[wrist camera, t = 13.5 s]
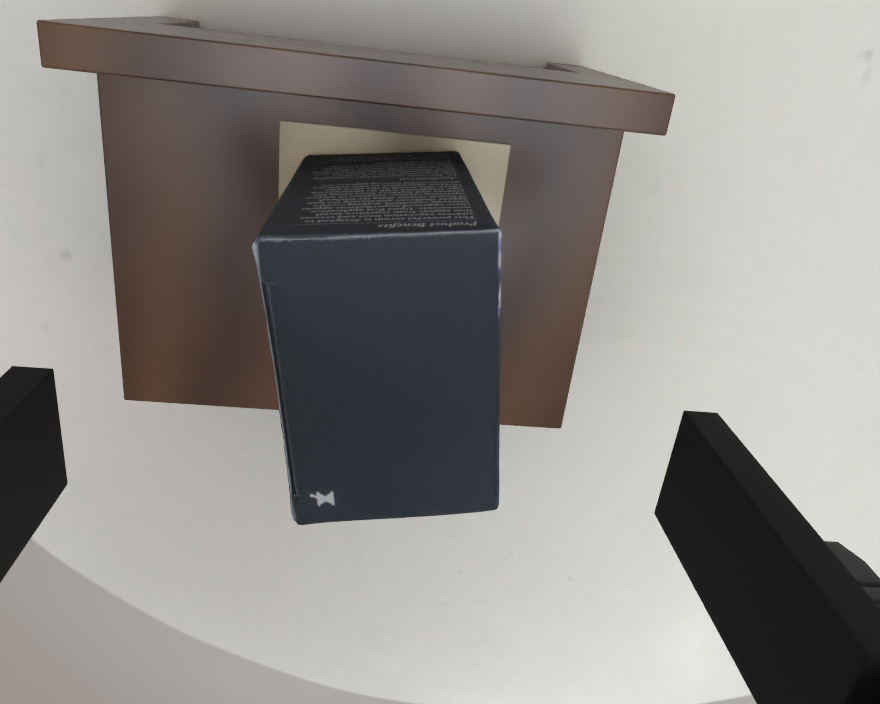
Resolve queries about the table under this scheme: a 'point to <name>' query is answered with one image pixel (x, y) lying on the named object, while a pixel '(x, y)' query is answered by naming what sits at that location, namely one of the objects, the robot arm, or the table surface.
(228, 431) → the table surface
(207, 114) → the shelf
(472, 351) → the box
